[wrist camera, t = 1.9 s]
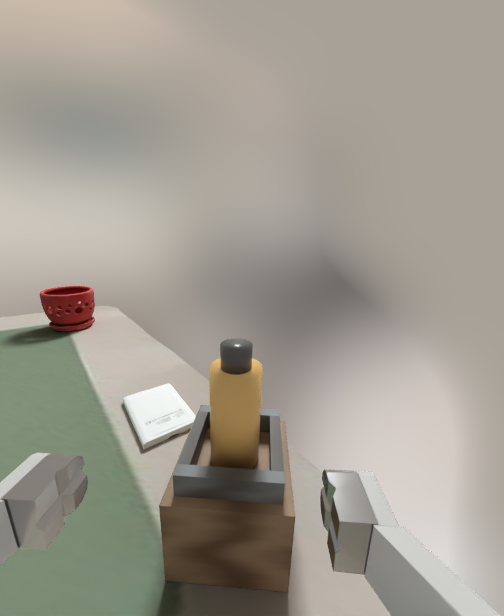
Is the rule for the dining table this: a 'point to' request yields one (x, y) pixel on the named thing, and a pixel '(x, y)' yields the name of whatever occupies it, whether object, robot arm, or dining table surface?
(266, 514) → the walnut stand
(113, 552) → the dining table surface
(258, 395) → the yellow bottle
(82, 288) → the plant pot
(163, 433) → the external hard drive
